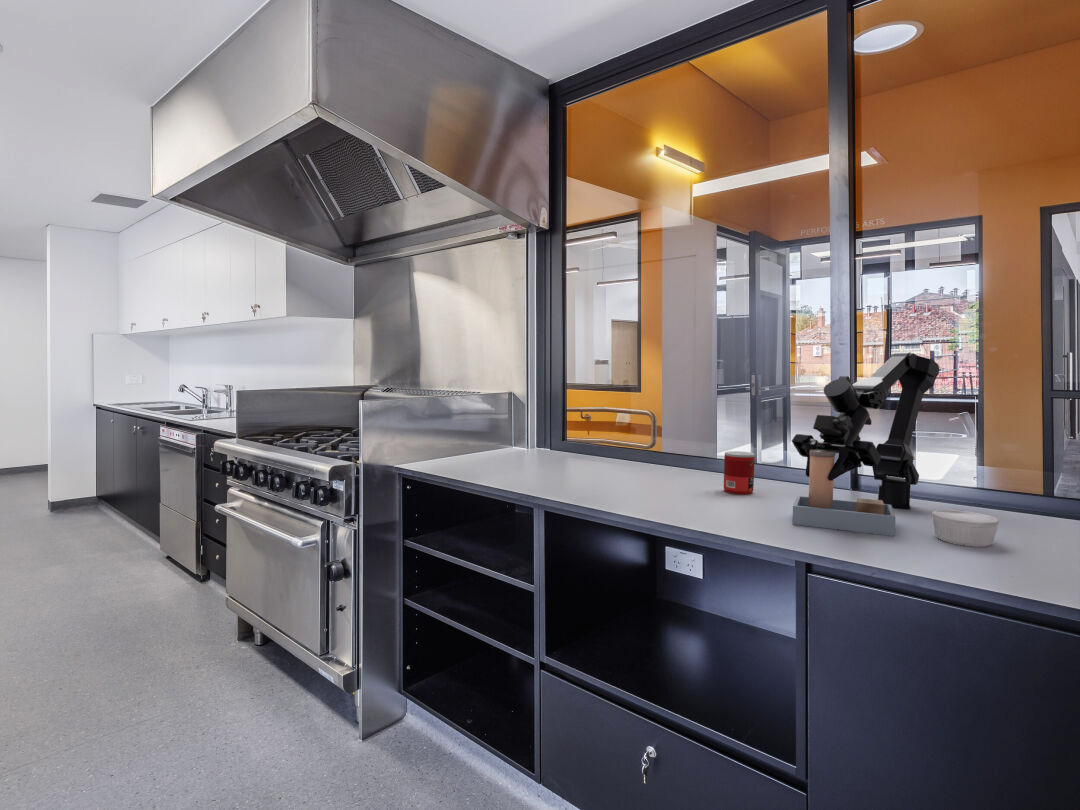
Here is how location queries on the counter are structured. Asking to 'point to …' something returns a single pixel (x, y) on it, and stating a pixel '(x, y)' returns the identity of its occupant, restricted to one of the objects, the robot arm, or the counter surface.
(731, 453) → the canned food
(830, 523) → the tote
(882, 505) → the cube
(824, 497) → the shaker
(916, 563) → the counter surface
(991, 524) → the ramekin
